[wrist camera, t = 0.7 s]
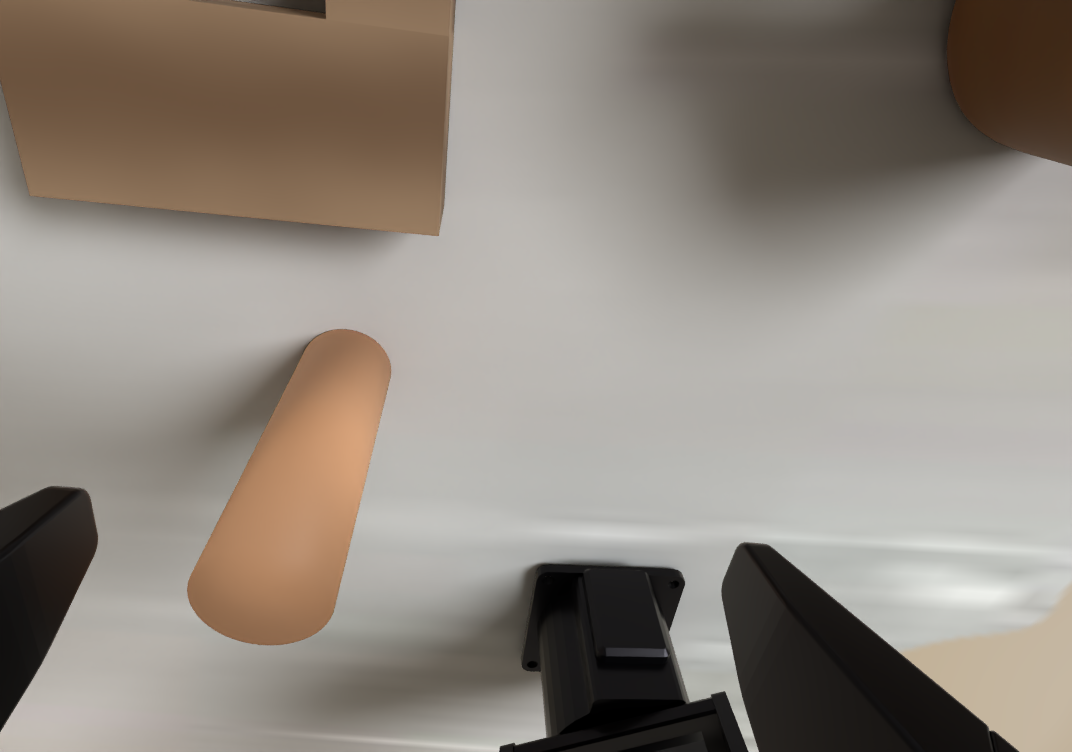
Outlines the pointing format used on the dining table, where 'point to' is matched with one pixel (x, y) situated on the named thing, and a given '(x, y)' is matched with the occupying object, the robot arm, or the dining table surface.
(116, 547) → the dining table surface
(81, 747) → the dining table surface
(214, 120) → the hole block
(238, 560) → the peg
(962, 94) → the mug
